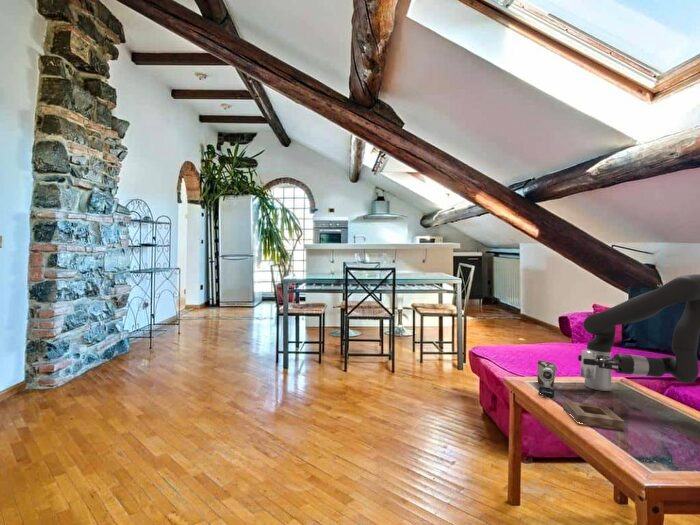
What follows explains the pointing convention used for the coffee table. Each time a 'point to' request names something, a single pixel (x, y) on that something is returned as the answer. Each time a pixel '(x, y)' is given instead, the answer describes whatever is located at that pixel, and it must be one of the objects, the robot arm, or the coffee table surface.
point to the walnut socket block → (594, 415)
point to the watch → (547, 382)
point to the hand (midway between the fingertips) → (581, 359)
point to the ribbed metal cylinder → (588, 370)
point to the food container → (542, 366)
